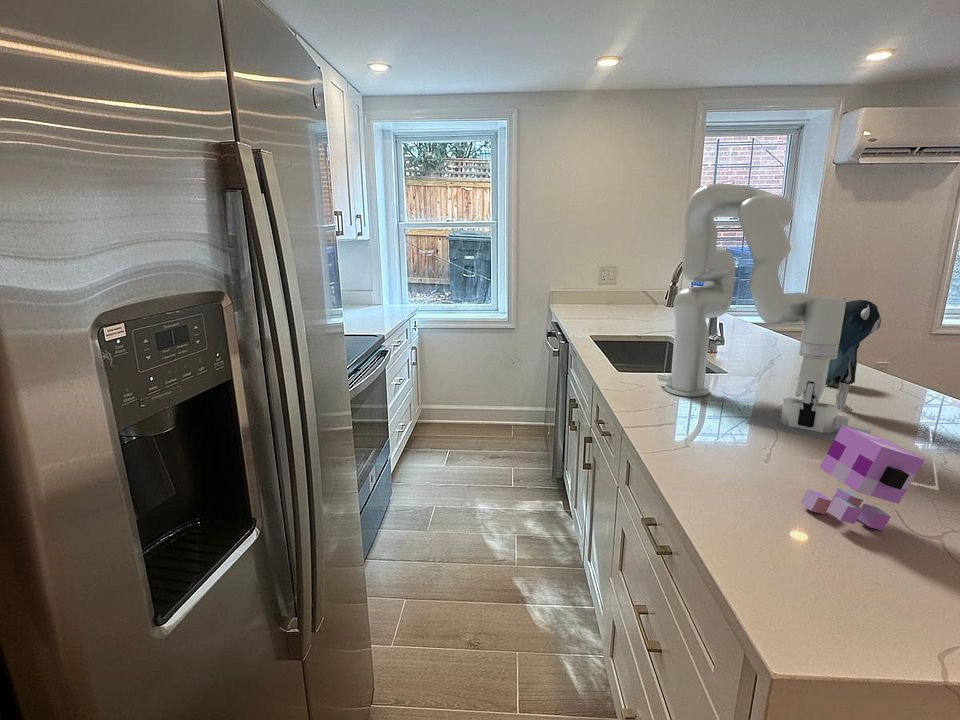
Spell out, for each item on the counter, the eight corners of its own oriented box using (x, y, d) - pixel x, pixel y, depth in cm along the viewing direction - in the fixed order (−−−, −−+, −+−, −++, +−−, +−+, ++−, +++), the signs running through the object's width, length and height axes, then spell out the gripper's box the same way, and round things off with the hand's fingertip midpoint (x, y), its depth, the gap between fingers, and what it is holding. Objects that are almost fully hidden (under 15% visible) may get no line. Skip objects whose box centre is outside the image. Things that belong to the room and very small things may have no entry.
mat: (745, 425, 125) (746, 423, 125) (757, 412, 135) (757, 409, 135) (866, 450, 110) (866, 447, 110) (869, 432, 120) (869, 430, 120)
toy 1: (875, 421, 127) (898, 303, 120) (828, 419, 129) (847, 302, 122) (849, 404, 140) (867, 297, 133) (806, 402, 142) (822, 296, 135)
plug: (779, 424, 125) (782, 401, 123) (782, 419, 127) (785, 397, 126) (845, 436, 116) (849, 412, 115) (846, 431, 119) (850, 407, 118)
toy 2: (795, 498, 89) (835, 422, 85) (833, 508, 90) (875, 434, 86) (841, 534, 78) (889, 450, 75) (883, 546, 80) (933, 463, 76)
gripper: (805, 342, 127) (794, 410, 131) (793, 353, 114) (782, 429, 118) (841, 345, 122) (829, 417, 126) (833, 358, 109) (820, 437, 114)
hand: (806, 422), depth 122 cm, fingers closed on plug, 3 cm apart
